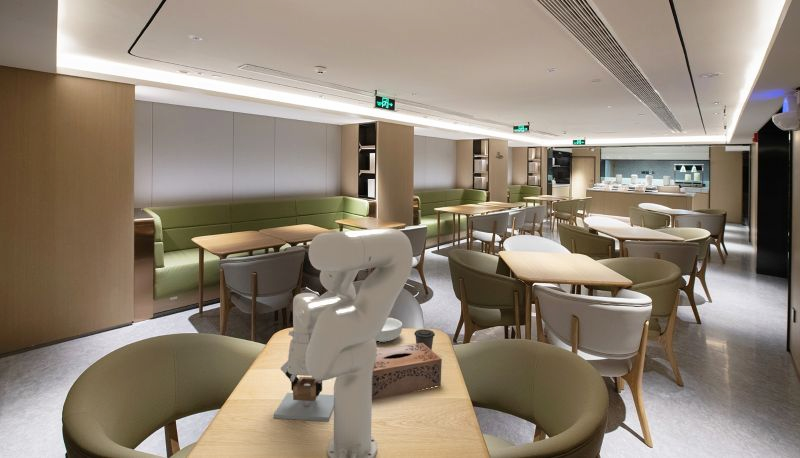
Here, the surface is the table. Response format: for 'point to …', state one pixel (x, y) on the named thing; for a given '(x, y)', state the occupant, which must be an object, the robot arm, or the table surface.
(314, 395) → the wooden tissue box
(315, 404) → the post board
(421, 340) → the coffee cup
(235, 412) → the table surface
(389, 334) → the cereal bowl
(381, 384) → the tissue box cover
